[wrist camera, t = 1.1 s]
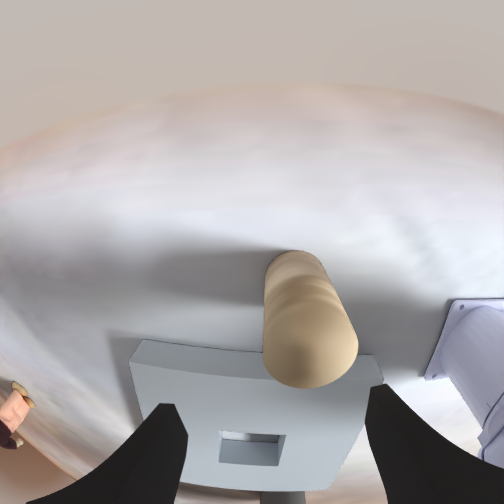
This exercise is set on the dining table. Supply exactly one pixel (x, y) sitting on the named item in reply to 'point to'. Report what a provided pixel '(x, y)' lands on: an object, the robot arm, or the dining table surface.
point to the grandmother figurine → (13, 415)
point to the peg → (304, 324)
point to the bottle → (282, 497)
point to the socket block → (253, 416)
